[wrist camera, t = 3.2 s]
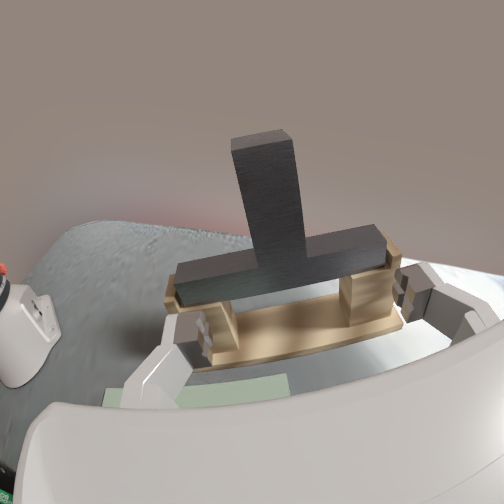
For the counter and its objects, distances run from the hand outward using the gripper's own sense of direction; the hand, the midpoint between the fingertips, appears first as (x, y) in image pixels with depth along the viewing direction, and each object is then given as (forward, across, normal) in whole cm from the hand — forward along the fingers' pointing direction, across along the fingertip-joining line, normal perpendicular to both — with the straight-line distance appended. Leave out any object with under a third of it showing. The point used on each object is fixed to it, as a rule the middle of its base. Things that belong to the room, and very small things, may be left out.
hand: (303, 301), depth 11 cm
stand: (+12, 0, +17) cm, 21 cm away
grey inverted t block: (+12, 0, +9) cm, 15 cm away
